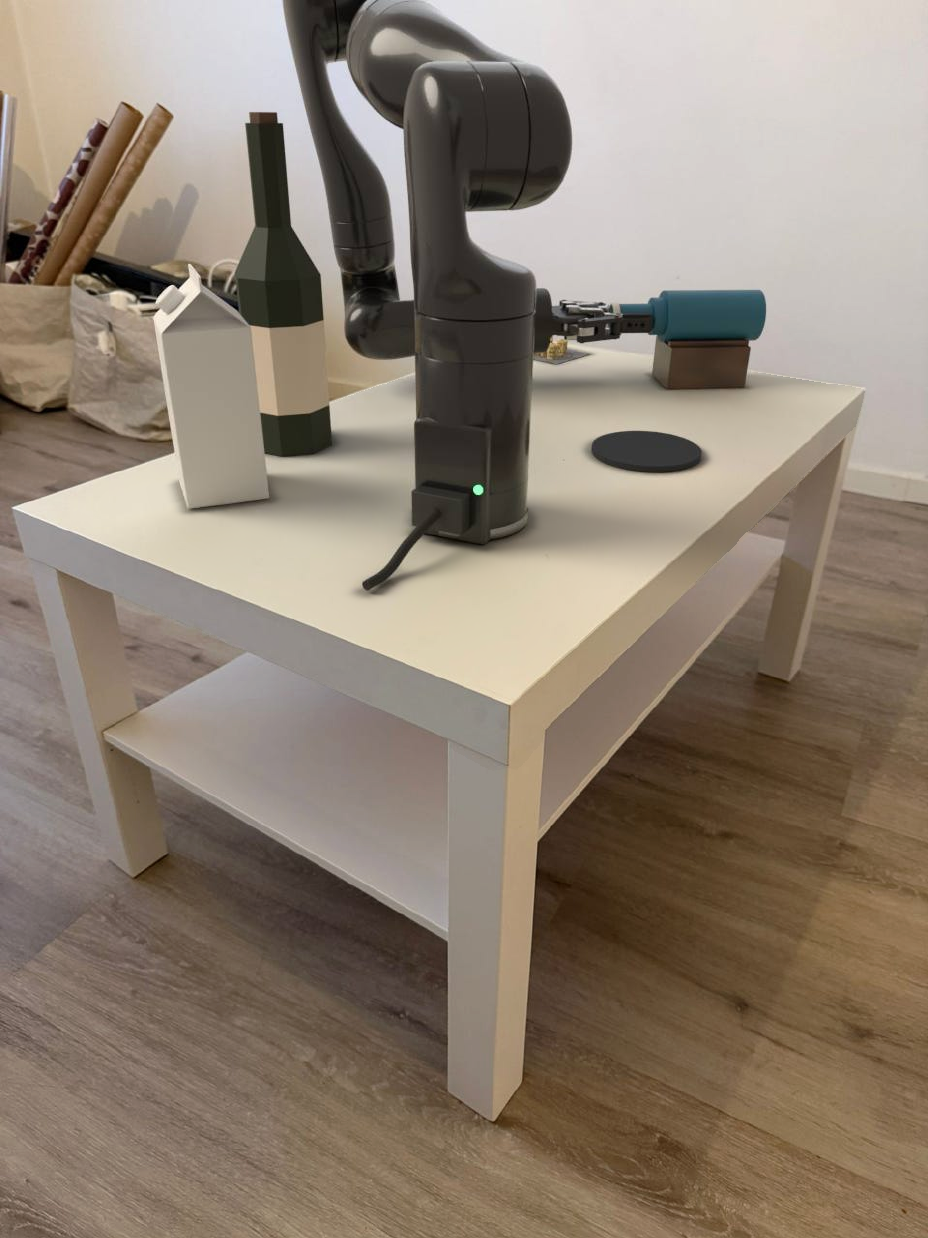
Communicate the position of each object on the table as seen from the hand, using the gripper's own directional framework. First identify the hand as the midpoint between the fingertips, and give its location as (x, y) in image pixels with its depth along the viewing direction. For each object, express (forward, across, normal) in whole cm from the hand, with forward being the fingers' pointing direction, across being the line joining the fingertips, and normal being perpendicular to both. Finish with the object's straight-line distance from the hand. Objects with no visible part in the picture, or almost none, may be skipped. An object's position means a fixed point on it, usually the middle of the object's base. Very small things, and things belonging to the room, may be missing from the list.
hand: (647, 319), depth 112 cm
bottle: (+5, 0, +3) cm, 5 cm away
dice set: (-9, +15, +8) cm, 19 cm away
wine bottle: (-42, -21, +8) cm, 48 cm away
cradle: (+7, 0, +8) cm, 11 cm away
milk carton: (-48, -34, +8) cm, 59 cm away
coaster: (-7, -26, +8) cm, 28 cm away
